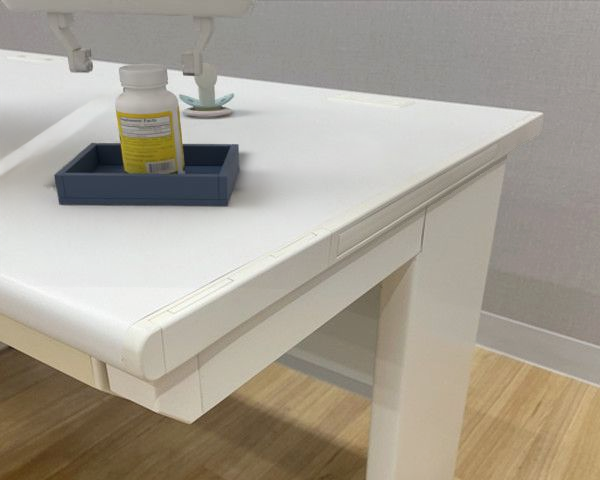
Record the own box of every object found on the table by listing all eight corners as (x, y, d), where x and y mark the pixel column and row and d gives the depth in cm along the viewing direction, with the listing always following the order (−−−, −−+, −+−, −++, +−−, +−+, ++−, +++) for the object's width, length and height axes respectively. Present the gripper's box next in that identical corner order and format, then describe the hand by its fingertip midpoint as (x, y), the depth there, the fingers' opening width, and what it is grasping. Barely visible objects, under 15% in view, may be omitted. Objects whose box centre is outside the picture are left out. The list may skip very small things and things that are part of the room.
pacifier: (235, 119, 83) (234, 108, 88) (233, 69, 80) (232, 60, 85) (178, 120, 82) (181, 109, 88) (174, 70, 79) (177, 61, 84)
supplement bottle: (147, 167, 61) (135, 60, 57) (196, 174, 60) (188, 64, 55) (112, 183, 57) (96, 69, 52) (164, 191, 55) (152, 73, 51)
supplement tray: (59, 204, 54) (53, 175, 53) (95, 168, 63) (91, 142, 62) (228, 206, 54) (226, 176, 53) (239, 170, 63) (238, 143, 62)
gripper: (-42, -132, 44) (-2, 76, 51) (251, -123, 44) (253, 83, 51) (-2, -122, 50) (29, 64, 56) (258, -114, 50) (258, 71, 56)
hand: (137, 73), depth 54 cm, fingers open, 8 cm apart
